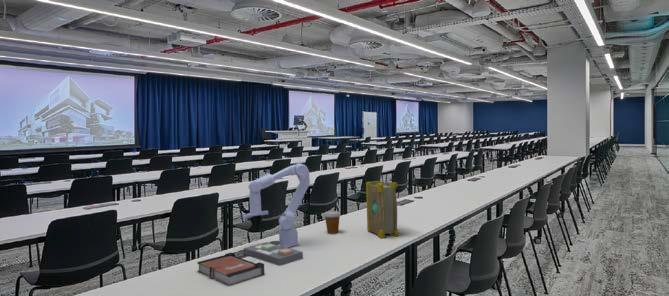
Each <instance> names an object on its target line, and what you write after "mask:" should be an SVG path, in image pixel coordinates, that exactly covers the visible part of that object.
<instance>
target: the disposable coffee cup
mask: <svg viewBox="0 0 669 296" xmlns="http://www.w3.org/2000/svg"><path fill="white" fill-rule="evenodd" d="M340 216H341V213H340V211H336V210H330V211H325V212H324V218H325V224H326V232H327V234H328V235H336V234H339V227H340Z"/></svg>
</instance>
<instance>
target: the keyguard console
mask: <svg viewBox="0 0 669 296" xmlns="http://www.w3.org/2000/svg"><path fill="white" fill-rule="evenodd" d="M267 244H272V245H275V249H273V250H276V249H279V250H282V249H290V250H293V254H290V255H286V256H283V255H279V254H278V253H272V252H270V251H273V250H269V251H265V250H262V249H261V248H260V249H259V248H255V246H259V245H267ZM243 254H244V255H245V256H249V257H251V258H255V259H258V260H261V261H264V262H266V263H270V264H273V265H276V266H279V267H280V266H283V265H286V264H288V263H292V262H295V261H299V260H301V259H304V252H303V251H301V250H298V249H293V248H291V247H288V248H287V247H283V246H279V245H278V244H275V243H271V242H262V243H258V244H255V245H254V244H253V245H251V246H248V247H244V248H243Z"/></svg>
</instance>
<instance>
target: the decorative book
mask: <svg viewBox="0 0 669 296" xmlns="http://www.w3.org/2000/svg"><path fill="white" fill-rule="evenodd" d="M386 182H387V181H386ZM365 188H366V189H365V190H366V192H365V193H366V196H365V197H366V228H367V232H368V233H374V234H375V235H376V236H377V237H378V238H379V239H385V234H391V236H393V237H396V238H397V237H399V236H400V235H399V233H400V232H399V230H398V200H397V193H396V190H397V188H398V182H395V181H393V182H392V181H388V182H387V183H385V182H383V181H382V180H380V181H379V180H378V181H366V182H365Z"/></svg>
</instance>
